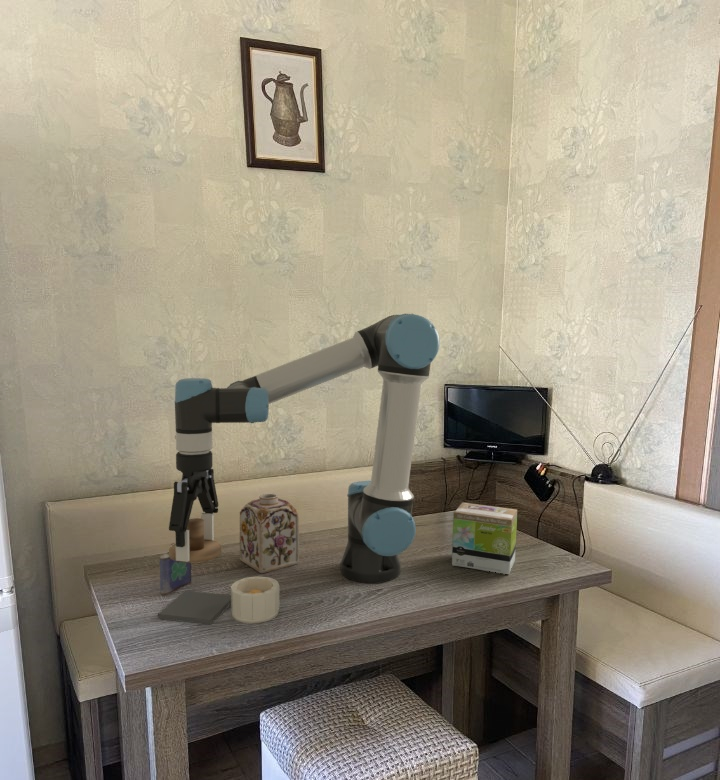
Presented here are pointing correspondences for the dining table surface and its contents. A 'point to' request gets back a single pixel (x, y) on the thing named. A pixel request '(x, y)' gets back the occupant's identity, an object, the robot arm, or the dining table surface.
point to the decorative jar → (269, 534)
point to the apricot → (255, 591)
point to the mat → (196, 607)
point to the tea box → (484, 537)
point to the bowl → (255, 600)
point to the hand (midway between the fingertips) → (195, 550)
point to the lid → (198, 544)
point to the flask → (173, 574)
